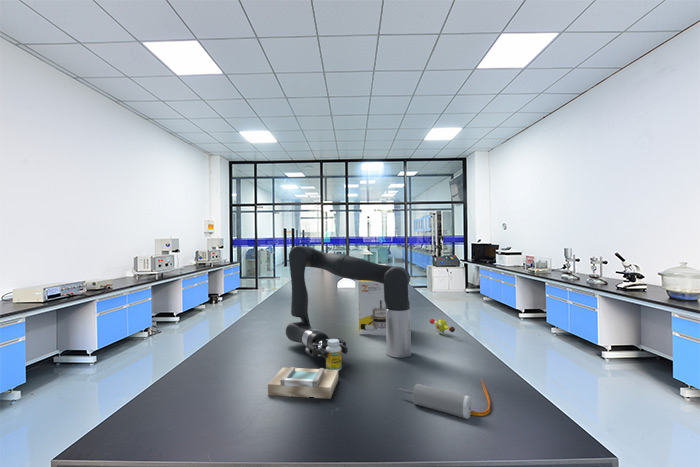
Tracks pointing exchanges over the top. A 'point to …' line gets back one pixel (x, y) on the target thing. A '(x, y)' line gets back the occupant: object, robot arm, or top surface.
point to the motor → (445, 401)
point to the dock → (304, 383)
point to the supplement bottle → (333, 355)
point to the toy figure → (442, 326)
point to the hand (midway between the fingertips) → (336, 352)
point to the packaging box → (371, 308)
